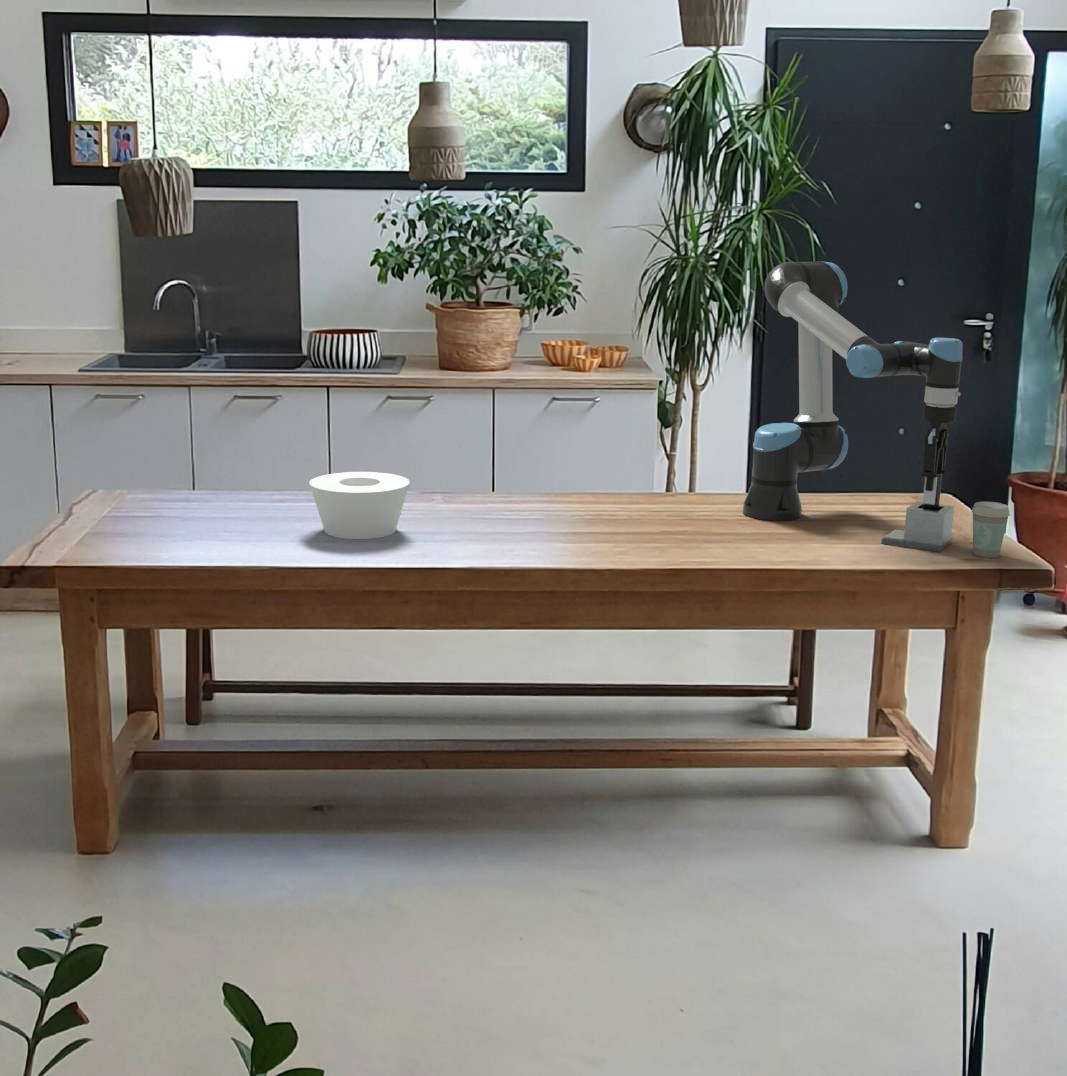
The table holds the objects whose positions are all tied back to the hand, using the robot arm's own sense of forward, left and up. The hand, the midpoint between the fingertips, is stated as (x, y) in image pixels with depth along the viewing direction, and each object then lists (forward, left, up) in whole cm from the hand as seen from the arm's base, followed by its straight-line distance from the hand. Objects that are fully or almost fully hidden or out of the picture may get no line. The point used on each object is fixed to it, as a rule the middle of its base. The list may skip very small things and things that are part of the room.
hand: (931, 501), depth 322 cm
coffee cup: (+14, -1, -11) cm, 18 cm away
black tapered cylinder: (0, 0, -5) cm, 5 cm away
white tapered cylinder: (-119, -67, -11) cm, 137 cm away
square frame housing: (-2, 0, -11) cm, 11 cm away
